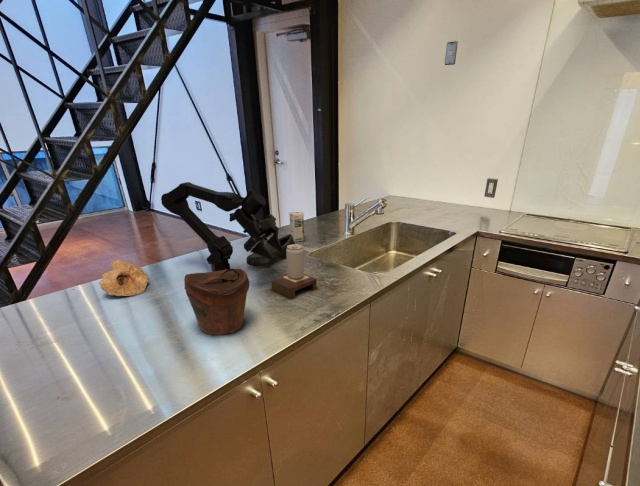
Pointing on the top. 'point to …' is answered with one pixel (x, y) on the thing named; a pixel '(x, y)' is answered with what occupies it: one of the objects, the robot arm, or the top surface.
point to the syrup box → (297, 225)
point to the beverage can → (295, 261)
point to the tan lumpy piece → (124, 279)
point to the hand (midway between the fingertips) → (277, 255)
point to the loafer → (262, 261)
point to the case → (218, 299)
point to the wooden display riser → (292, 285)
